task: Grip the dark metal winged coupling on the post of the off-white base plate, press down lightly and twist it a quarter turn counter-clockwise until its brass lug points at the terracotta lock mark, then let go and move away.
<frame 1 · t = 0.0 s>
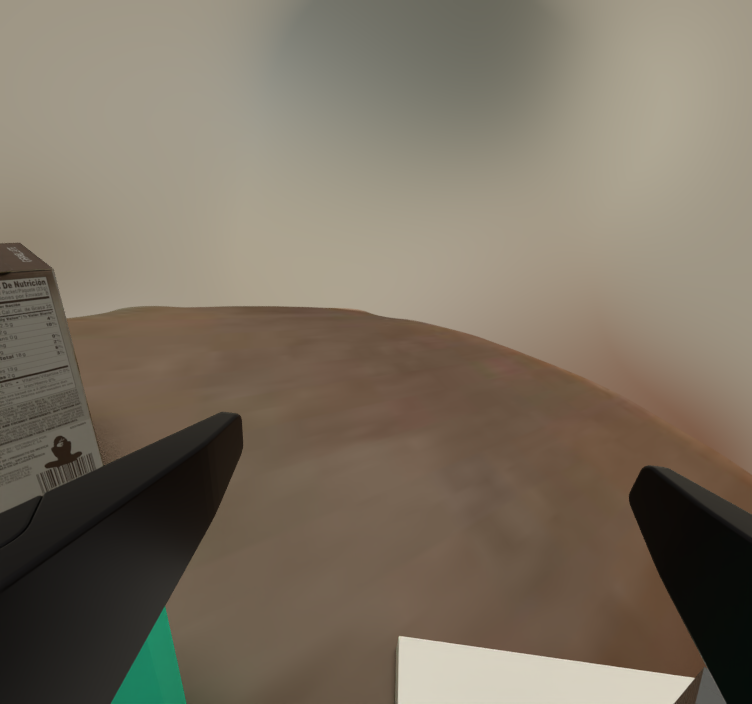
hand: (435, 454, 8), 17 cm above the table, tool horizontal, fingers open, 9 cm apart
coffee box: (41, 467, 28), on the table
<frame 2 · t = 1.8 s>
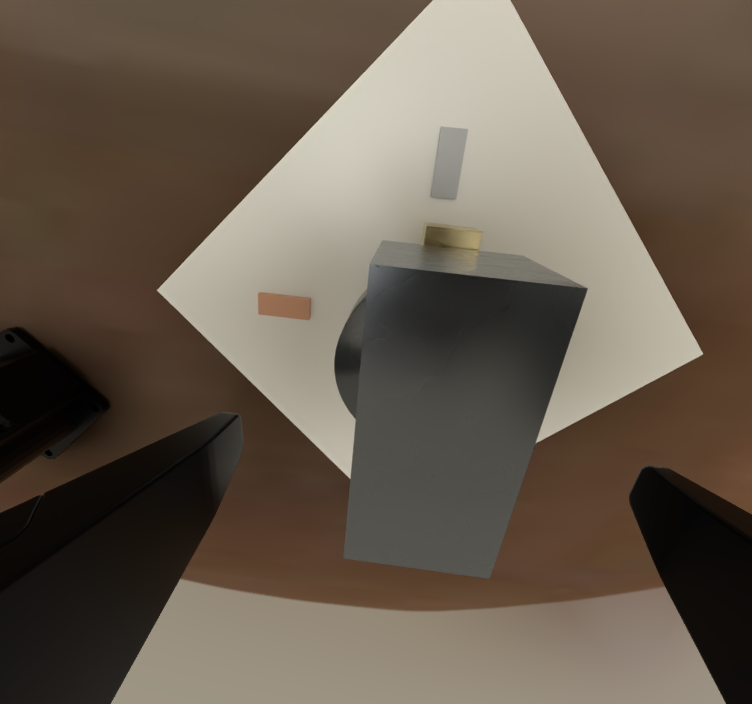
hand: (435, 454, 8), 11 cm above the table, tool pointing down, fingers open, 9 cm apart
coupling: (433, 378, 11), point 7 cm above the table, hinge at 0.0°
post plate: (422, 313, 18), on the table
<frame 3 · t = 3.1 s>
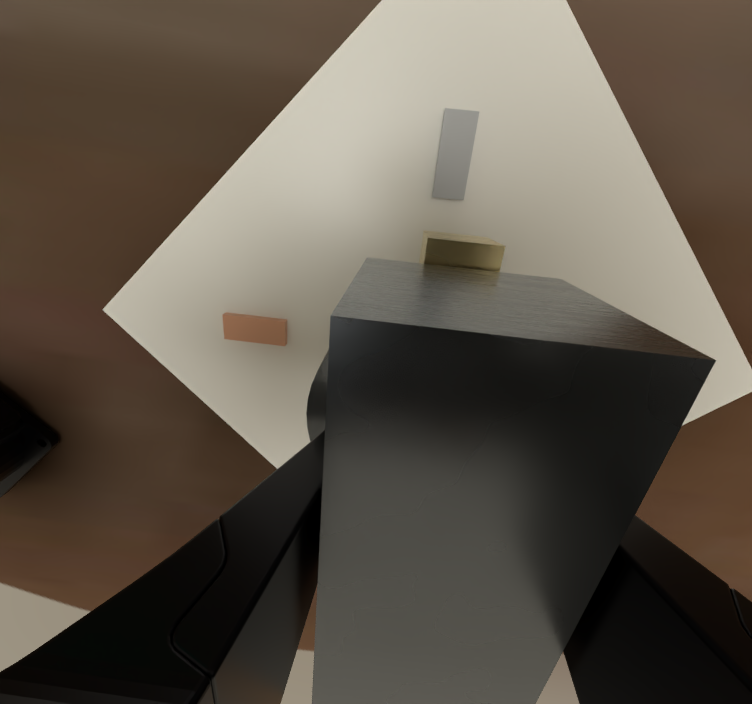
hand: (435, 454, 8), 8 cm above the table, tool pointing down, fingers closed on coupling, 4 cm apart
coupling: (436, 442, 8), point 7 cm above the table, hinge at 0.0°, touching gripper
post plate: (421, 336, 15), on the table
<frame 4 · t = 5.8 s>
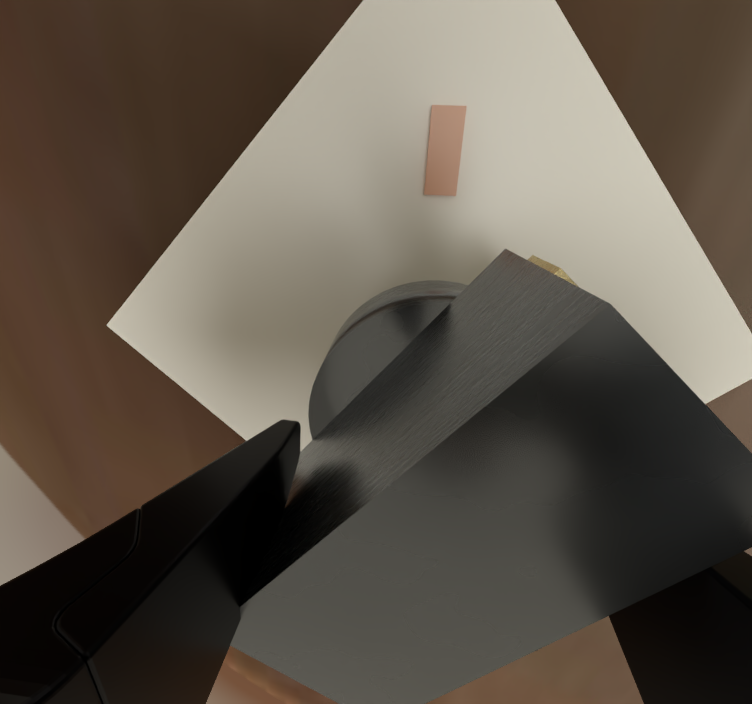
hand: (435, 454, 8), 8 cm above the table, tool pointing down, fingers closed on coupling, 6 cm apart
coupling: (445, 443, 8), point 7 cm above the table, hinge at 51.4°, touching gripper
post plate: (422, 334, 15), on the table
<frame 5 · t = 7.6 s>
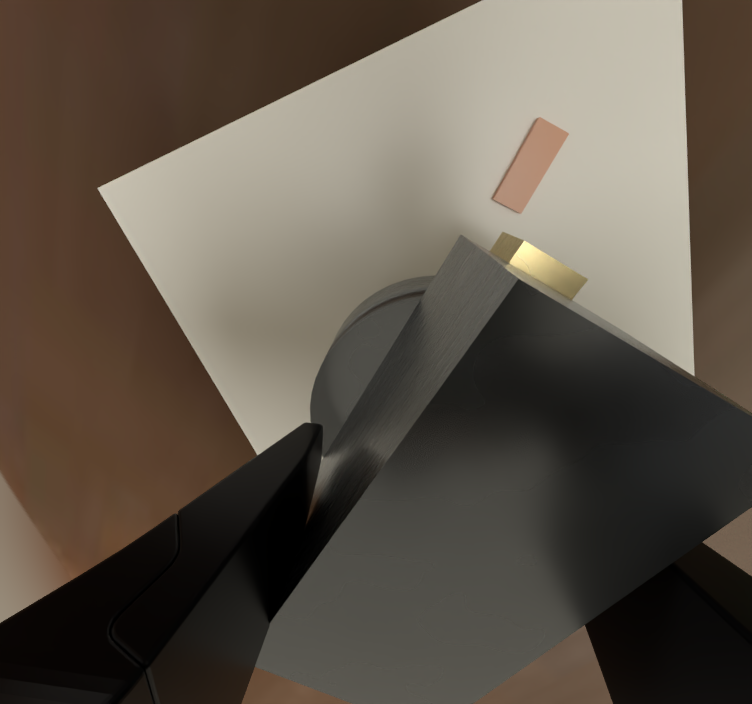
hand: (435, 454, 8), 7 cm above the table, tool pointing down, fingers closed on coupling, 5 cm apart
coupling: (447, 439, 8), point 7 cm above the table, hinge at 86.6°, touching gripper
post plate: (425, 331, 15), on the table
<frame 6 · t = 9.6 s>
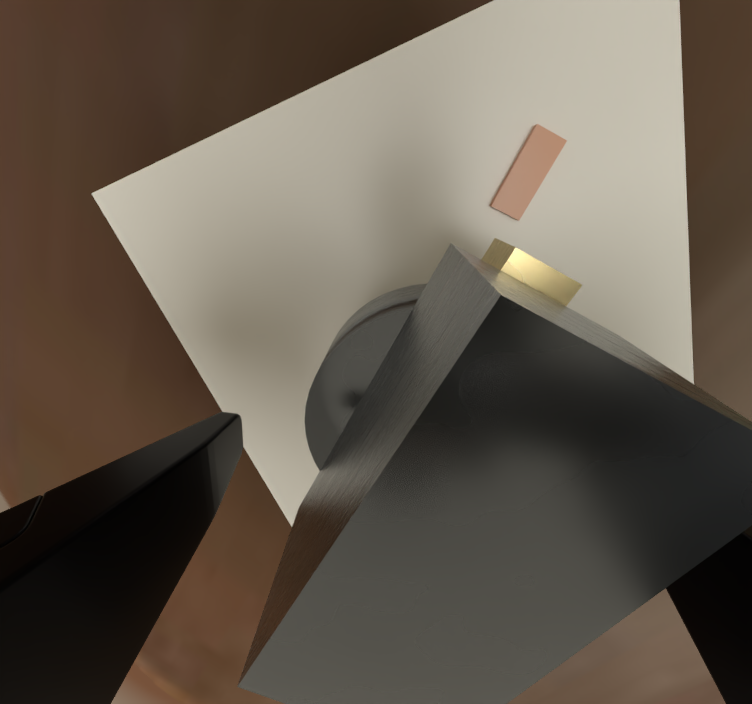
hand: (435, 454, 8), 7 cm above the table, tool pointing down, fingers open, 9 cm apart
coupling: (443, 451, 8), point 7 cm above the table, hinge at 88.2°
post plate: (422, 337, 15), on the table
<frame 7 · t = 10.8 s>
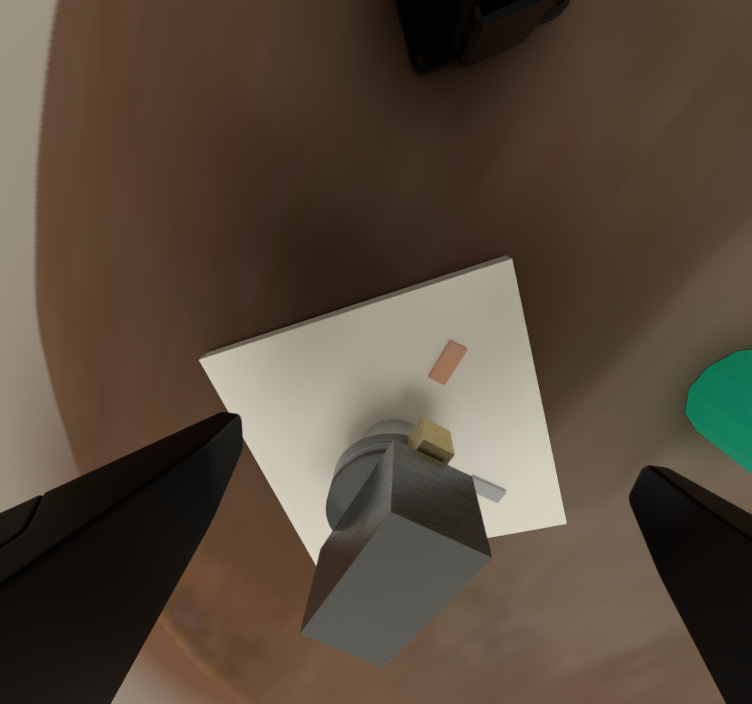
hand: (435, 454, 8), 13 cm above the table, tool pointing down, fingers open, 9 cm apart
coupling: (392, 527, 17), point 7 cm above the table, hinge at 88.3°
candle: (739, 393, 21), on the table
post plate: (394, 435, 23), on the table
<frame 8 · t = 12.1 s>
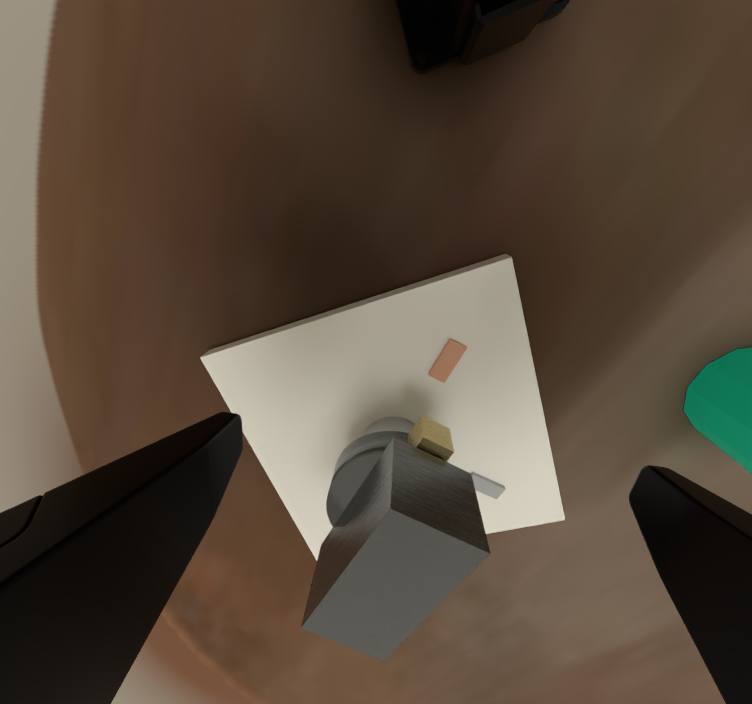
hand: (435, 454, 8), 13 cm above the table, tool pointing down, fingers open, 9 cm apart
coupling: (392, 523, 17), point 7 cm above the table, hinge at 88.3°
candle: (737, 391, 21), on the table
post plate: (394, 432, 24), on the table
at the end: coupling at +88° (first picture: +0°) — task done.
